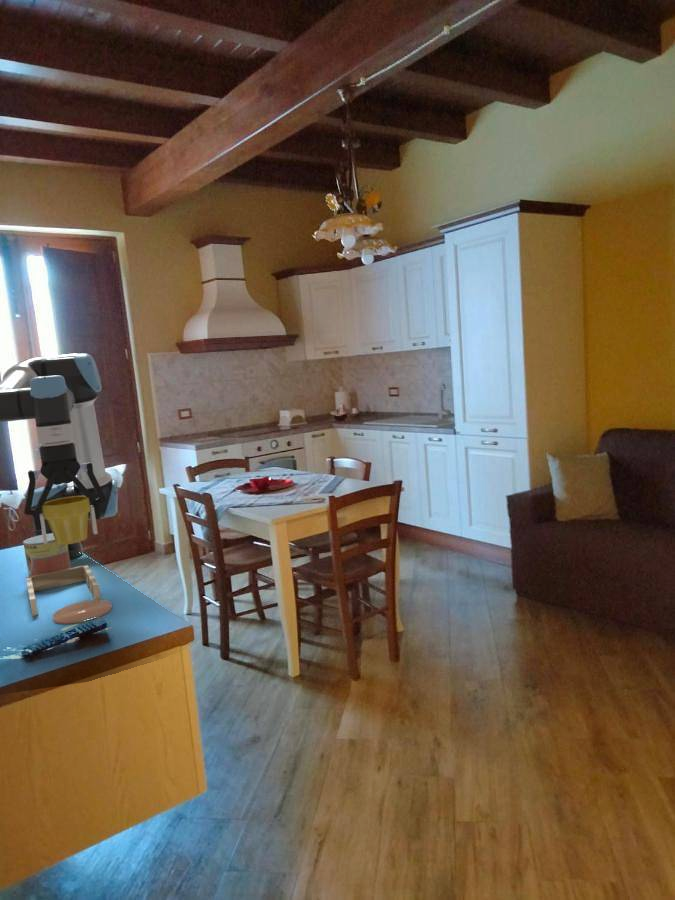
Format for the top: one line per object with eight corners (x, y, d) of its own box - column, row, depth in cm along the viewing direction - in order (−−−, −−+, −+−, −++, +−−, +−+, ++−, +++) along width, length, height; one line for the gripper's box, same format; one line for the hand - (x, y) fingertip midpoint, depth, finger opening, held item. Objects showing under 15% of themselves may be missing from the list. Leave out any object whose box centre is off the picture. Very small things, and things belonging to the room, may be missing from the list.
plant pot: (47, 550, 147) (40, 507, 145) (47, 541, 156) (41, 500, 155) (96, 541, 150) (89, 499, 149) (93, 532, 160) (88, 493, 159)
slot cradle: (28, 591, 176) (25, 577, 176) (89, 578, 183) (87, 564, 183) (32, 615, 157) (29, 599, 156) (100, 599, 164) (98, 584, 163)
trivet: (62, 607, 161) (61, 604, 161) (116, 599, 162) (116, 596, 162) (46, 627, 148) (45, 623, 148) (105, 619, 150) (105, 615, 149)
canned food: (25, 580, 188) (18, 539, 186) (66, 570, 194) (60, 530, 193) (34, 588, 179) (27, 545, 177) (77, 577, 185) (71, 536, 184)
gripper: (1, 451, 142) (17, 551, 145) (110, 437, 152) (123, 531, 155) (1, 449, 149) (16, 544, 151) (106, 436, 159) (118, 525, 162)
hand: (70, 537), depth 153 cm, fingers closed on plant pot, 10 cm apart
